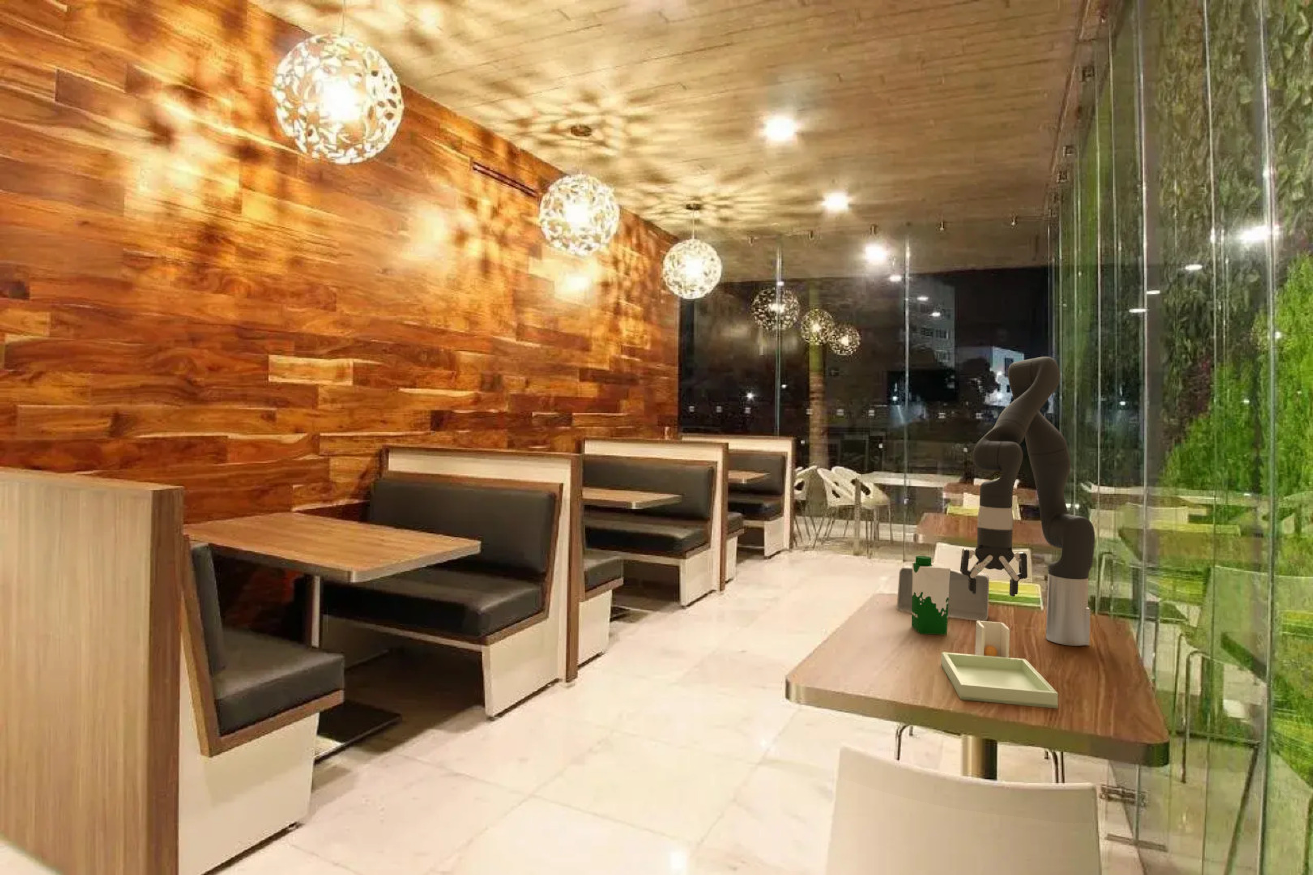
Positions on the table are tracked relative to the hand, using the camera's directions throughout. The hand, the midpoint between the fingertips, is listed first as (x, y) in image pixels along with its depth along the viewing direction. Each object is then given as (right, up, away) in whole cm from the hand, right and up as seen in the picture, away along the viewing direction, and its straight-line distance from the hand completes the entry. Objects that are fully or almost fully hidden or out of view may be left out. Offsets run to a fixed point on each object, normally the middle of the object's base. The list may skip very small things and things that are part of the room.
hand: (992, 594), depth 172 cm
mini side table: (0, -16, 0) cm, 16 cm away
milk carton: (-5, -16, +27) cm, 31 cm away
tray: (-6, -16, -15) cm, 23 cm away
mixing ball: (0, -14, +1) cm, 14 cm away
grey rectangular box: (+8, -16, +50) cm, 53 cm away
